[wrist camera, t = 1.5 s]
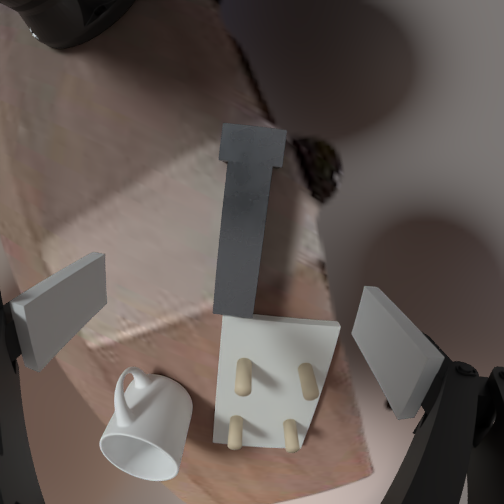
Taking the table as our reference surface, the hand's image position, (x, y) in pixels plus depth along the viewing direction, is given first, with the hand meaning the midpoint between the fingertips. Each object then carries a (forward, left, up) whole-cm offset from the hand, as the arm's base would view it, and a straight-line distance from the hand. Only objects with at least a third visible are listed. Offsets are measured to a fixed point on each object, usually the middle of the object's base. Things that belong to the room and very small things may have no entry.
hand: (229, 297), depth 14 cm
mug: (+20, -9, -15) cm, 26 cm away
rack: (+18, +5, -14) cm, 24 cm away
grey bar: (-2, 0, -15) cm, 15 cm away
